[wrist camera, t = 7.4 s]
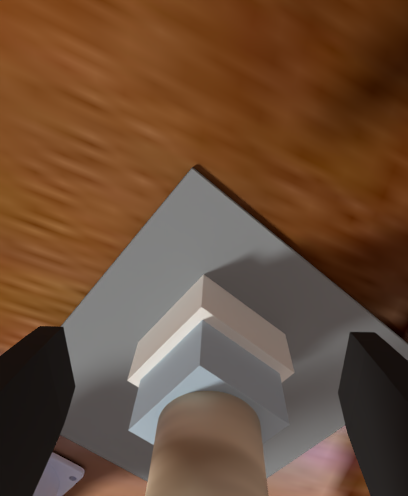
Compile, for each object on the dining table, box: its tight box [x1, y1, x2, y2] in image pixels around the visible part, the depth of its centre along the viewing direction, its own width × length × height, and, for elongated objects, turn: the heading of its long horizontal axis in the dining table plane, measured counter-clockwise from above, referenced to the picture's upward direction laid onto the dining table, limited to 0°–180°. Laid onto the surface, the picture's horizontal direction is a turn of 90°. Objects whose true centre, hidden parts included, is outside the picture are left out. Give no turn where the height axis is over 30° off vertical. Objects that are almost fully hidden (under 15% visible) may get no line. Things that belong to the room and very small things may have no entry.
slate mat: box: [60, 167, 408, 482], centre depth 24 cm, size 20×18×1 cm
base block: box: [127, 274, 294, 387], centre depth 21 cm, size 6×6×3 cm
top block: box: [128, 320, 290, 445], centre depth 18 cm, size 5×5×3 cm
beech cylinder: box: [145, 391, 268, 496], centre depth 15 cm, size 4×4×5 cm
